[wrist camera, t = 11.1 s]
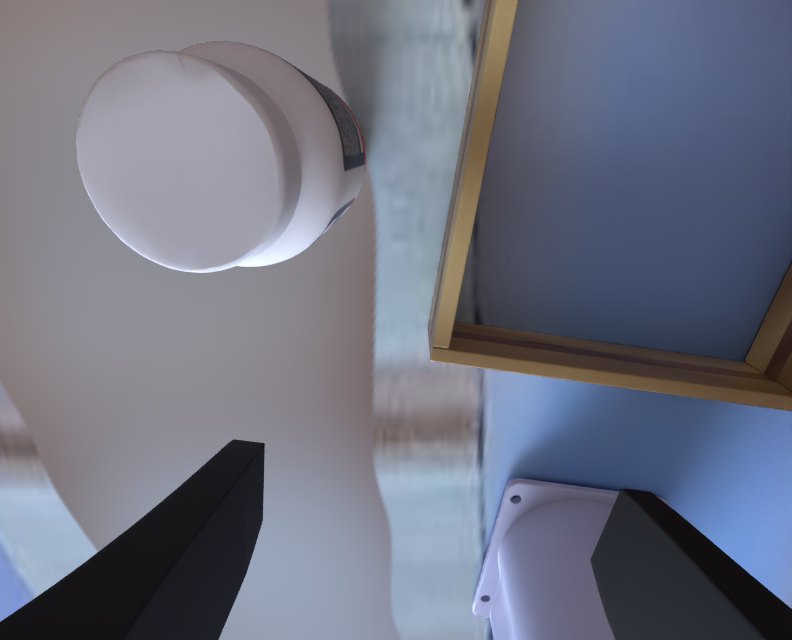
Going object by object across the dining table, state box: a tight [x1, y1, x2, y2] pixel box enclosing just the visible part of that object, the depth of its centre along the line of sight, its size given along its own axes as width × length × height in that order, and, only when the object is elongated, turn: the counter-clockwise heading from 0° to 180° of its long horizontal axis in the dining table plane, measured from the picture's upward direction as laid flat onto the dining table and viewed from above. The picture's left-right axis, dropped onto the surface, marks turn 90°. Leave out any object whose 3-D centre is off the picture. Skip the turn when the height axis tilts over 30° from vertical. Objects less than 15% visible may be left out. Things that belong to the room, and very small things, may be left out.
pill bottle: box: [76, 41, 366, 273], centre depth 12 cm, size 5×5×9 cm
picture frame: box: [428, 0, 792, 411], centre depth 15 cm, size 14×14×3 cm
